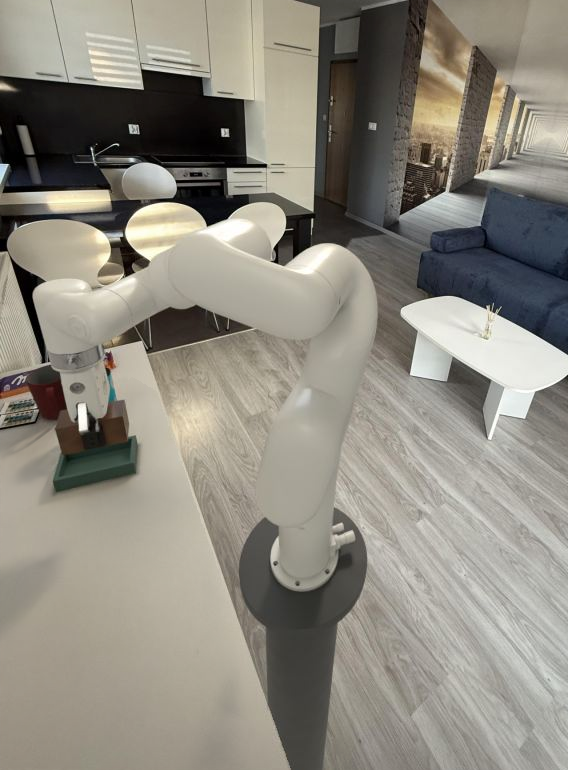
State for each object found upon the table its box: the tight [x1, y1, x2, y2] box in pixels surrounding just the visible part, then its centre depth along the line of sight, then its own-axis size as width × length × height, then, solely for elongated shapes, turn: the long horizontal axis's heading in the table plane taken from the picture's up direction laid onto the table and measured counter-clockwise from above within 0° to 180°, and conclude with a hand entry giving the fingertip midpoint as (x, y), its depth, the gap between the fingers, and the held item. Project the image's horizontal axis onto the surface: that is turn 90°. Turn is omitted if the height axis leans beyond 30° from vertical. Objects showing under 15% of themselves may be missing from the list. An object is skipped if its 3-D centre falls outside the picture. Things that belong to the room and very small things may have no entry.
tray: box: [51, 434, 139, 493], centre depth 85 cm, size 14×9×3 cm, turn 114°
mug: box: [25, 364, 67, 421], centre depth 97 cm, size 12×9×11 cm
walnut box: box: [54, 399, 130, 455], centre depth 72 cm, size 10×5×6 cm, turn 115°
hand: (97, 435), depth 73 cm, fingers closed on walnut box, 5 cm apart
